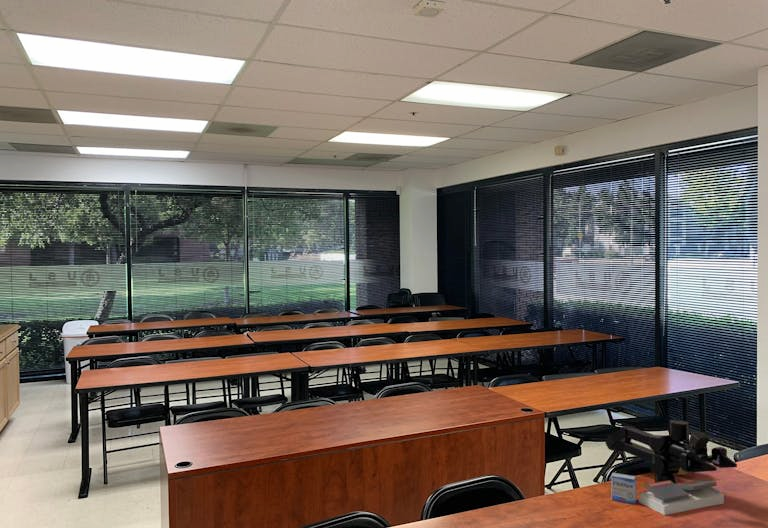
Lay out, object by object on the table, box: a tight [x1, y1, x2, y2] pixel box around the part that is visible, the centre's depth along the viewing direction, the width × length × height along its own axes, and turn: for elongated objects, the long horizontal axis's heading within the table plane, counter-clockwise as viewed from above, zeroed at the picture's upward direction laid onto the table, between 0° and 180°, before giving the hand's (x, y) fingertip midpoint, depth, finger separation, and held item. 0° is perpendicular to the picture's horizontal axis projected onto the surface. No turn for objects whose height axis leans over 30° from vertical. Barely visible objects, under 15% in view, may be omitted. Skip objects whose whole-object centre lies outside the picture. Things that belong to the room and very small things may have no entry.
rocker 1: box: [644, 480, 689, 502], centre depth 192 cm, size 8×11×2 cm
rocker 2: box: [675, 480, 718, 490], centre depth 197 cm, size 8×11×2 cm
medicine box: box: [610, 472, 637, 505], centre depth 197 cm, size 8×4×9 cm, turn 62°
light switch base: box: [638, 486, 725, 516], centre depth 195 cm, size 11×27×4 cm, turn 110°
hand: (726, 467), depth 183 cm, fingers open, 9 cm apart
